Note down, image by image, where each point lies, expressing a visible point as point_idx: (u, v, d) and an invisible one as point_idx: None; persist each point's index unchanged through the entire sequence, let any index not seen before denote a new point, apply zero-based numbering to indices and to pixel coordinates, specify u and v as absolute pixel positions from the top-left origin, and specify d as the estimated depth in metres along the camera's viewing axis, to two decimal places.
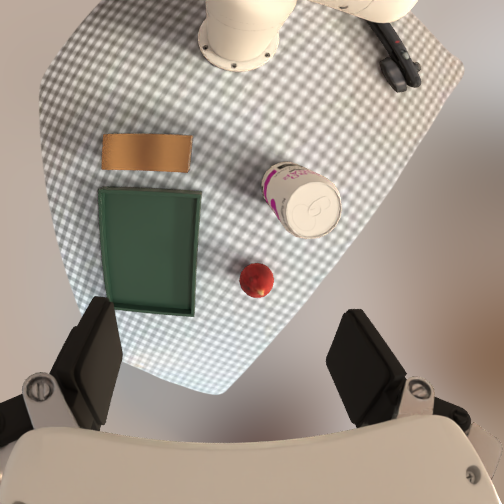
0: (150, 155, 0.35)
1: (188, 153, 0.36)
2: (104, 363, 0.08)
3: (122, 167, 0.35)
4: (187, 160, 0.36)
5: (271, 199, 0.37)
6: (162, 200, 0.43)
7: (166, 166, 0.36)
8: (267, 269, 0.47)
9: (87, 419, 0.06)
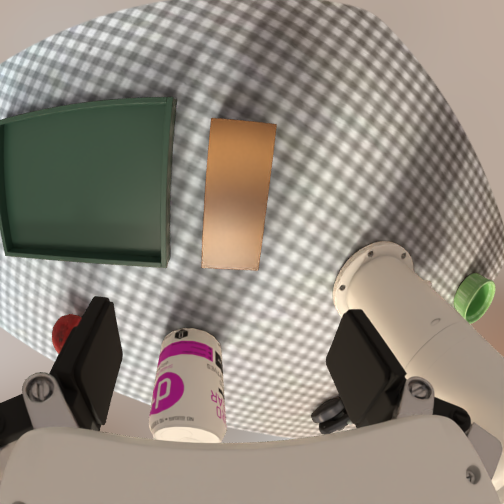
0: (230, 210, 0.23)
1: (231, 268, 0.25)
2: (104, 363, 0.08)
3: (211, 160, 0.21)
4: (220, 267, 0.25)
5: (181, 379, 0.26)
6: (152, 205, 0.27)
7: (210, 236, 0.24)
8: None
9: (87, 419, 0.06)
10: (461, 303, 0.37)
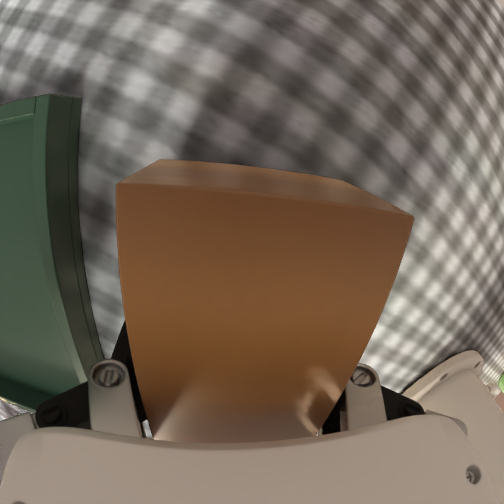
0: None
1: None
2: None
3: (146, 357, 0.05)
4: None
5: None
6: (63, 341, 0.11)
7: None
8: None
9: None
10: None
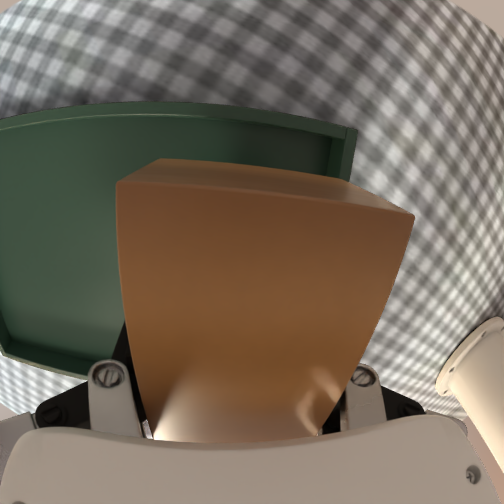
0: None
1: None
2: None
3: (145, 356, 0.05)
4: None
5: None
6: None
7: None
8: None
9: None
10: None
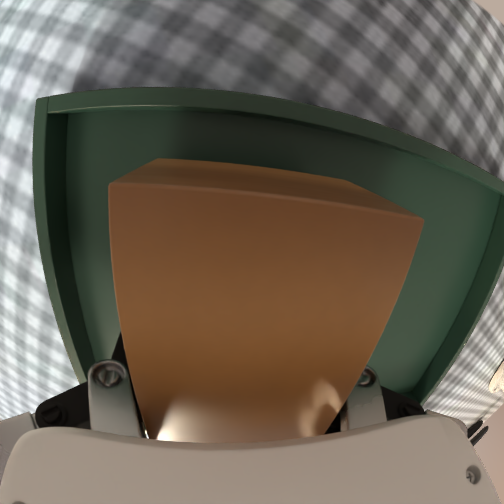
0: None
1: None
2: None
3: (142, 365, 0.05)
4: None
5: None
6: (436, 338, 0.15)
7: None
8: None
9: None
10: None
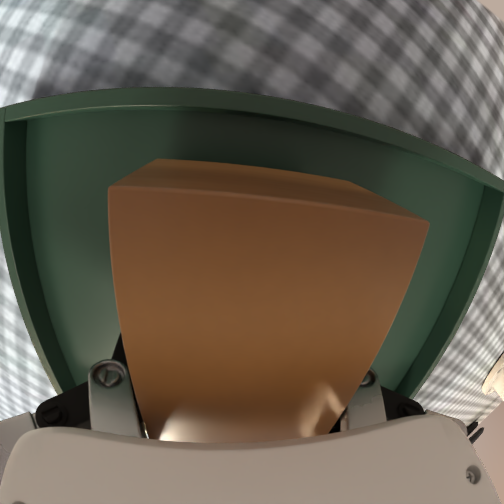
0: None
1: None
2: None
3: (144, 372, 0.05)
4: None
5: None
6: (415, 340, 0.15)
7: None
8: None
9: None
10: None
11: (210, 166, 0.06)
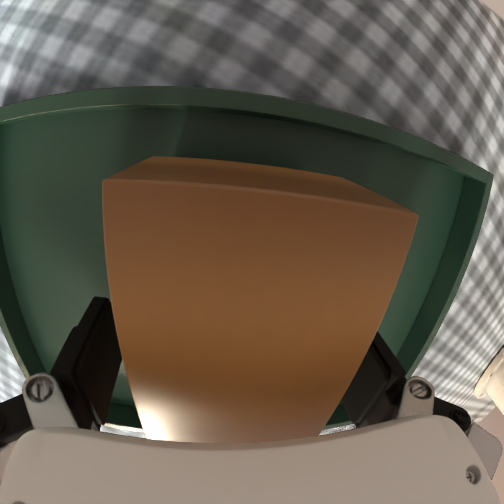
0: None
1: None
2: (104, 363, 0.08)
3: (137, 362, 0.05)
4: None
5: None
6: (390, 343, 0.14)
7: None
8: None
9: (87, 420, 0.06)
10: None
11: (203, 162, 0.06)
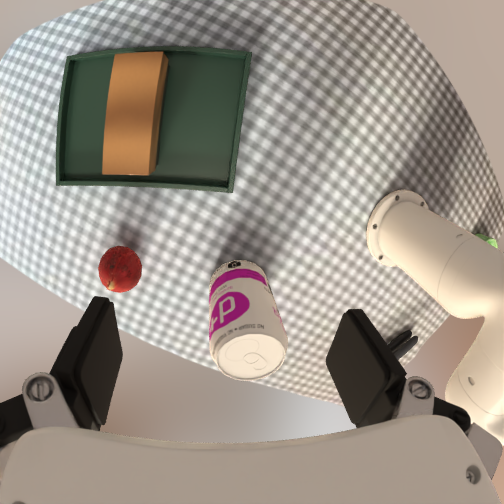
0: (124, 121, 0.23)
1: (125, 173, 0.25)
2: (104, 363, 0.08)
3: (112, 84, 0.21)
4: (117, 172, 0.25)
5: (244, 295, 0.30)
6: (223, 137, 0.31)
7: (109, 144, 0.24)
8: (137, 282, 0.33)
9: (87, 420, 0.06)
10: None
11: None
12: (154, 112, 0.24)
